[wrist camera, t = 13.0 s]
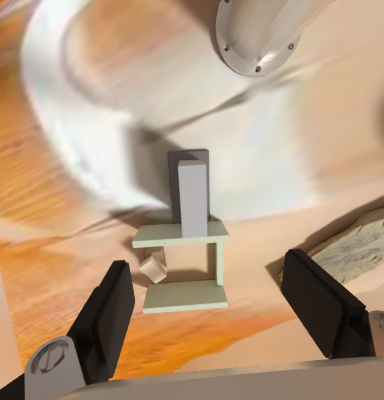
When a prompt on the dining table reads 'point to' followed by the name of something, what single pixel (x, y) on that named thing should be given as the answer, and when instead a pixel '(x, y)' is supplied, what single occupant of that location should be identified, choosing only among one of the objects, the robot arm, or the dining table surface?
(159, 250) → the offcut
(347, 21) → the dining table surface
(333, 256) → the stone slab
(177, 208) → the panel
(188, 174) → the tall grey upright block
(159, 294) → the rack
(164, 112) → the dining table surface
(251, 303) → the dining table surface
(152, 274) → the offcut
